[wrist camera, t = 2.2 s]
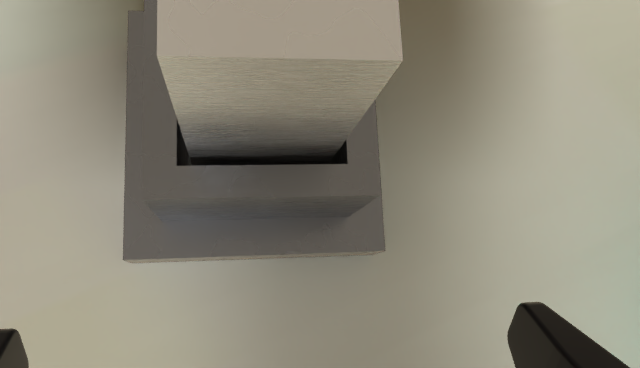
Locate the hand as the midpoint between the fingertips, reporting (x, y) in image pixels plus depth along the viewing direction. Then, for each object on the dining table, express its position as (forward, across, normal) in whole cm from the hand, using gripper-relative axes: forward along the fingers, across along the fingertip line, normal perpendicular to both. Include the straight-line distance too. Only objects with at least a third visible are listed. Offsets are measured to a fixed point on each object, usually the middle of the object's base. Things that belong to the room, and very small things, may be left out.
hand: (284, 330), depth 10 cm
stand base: (+14, 0, +4) cm, 15 cm away
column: (+13, 0, +3) cm, 13 cm away
